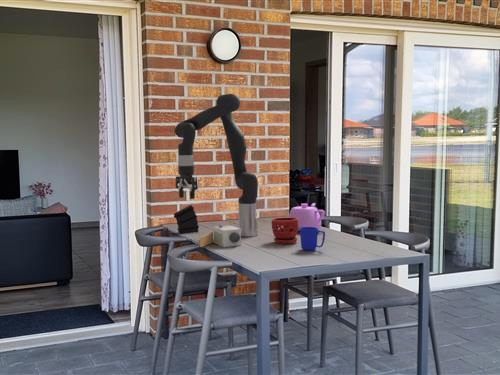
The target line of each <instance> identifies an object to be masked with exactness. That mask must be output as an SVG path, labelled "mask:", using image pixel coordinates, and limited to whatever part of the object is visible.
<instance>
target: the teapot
mask: <svg viewBox="0 0 500 375" xmlns="http://www.w3.org/2000/svg"><path fill="white" fill-rule="evenodd" d="M315 206H316V202H313V203H312V204H311V205H310V206H309V205H308V203H301V204H300V206H294V207H292V208H291V210H290V211H289V214H288V218H297V219H298V232H300V228H302V227H315V228H318V230H319V229H320V228H321V226H322V220H323V219H324V217H325V215H326V211H325V210H323V209H318V208H317V207H315Z"/></svg>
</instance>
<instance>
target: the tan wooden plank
mask: <svg viewBox="0 0 500 375" xmlns="http://www.w3.org/2000/svg"><path fill="white" fill-rule="evenodd" d="M213 243H214V231H211V232H209V233H207V234H204V235H202V236H199V239H198V244H199V248H203V247H205V246H207V245H210V244H213Z"/></svg>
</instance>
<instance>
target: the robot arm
mask: <svg viewBox="0 0 500 375" xmlns="http://www.w3.org/2000/svg"><path fill="white" fill-rule="evenodd" d="M240 106H241V100H240V97H239V96H238V95H237V94H235V93H227V94H226V93H225V94H221V95H219V96H217V99H216V105H214V106H212V107H210V108H207V109H204V110H202V111H200V112H198V113H197V114H196V115H194V116H192V117H190V118H188V119H185V120H183V121H180V122H178V124H177V125H175V128H174V134H175V136H177V137H178V138H181V139H182V142H180V143H179V144H178V146H177V148H178V149H177V150H178V151H177V153H178V156H177V158H178V159H177V167H178V168H177V169H178V170H177V171H178V172H177V174H178V175H177V176H175V189H177V190H178V197H179V198H180V199H181V198H184V197H185V196H184V193H185V192H184V188H185V187H186V188H188V189H189V199H191V200H194V199H195V198H196V196H195V195H196V194H195V193H196V190H199V188H198V177H197V176H193V175H194V174H195V165H194V164H195V163H194V161H195V160H194V147H193V146H194V143H195V138H196V134H197V133H196V132H197V131H200V130H202V129H203V128H205V127H206V126H208V125H210V124H211V123H213V122H214V121H216V120H218V119H219V118H220V119H221V122H222V126H223V130H224V133H225V137H226V143H227V146H228V150H229V154H230V158H231V163H232V168H233V176H234V182H235V185H236V187H237V188H238V189H239V190H241V191H242V194H241V195H240V196H239V198H238V228H240V229H241V237H255V236H258V229H259V228H258V217H257V198H258V187H259V186H258V185H259V182H258V177H257V175H256V174H255V173H252V172H248V171H247V166H246V157H247V156H246V154H247V142H246V139H245V138H246V137H245V135H244V134H243V132H242V130H241V129H240V127H239V126H238V125H237V123H236V122H235V119H234V117H233V112H236V111H237V110H238V109H240Z"/></svg>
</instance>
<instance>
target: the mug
mask: <svg viewBox="0 0 500 375" xmlns="http://www.w3.org/2000/svg"><path fill="white" fill-rule="evenodd" d="M319 233H321V234H322V241H321V244H320V245H318V236H319V235H318V234H319ZM299 236H300V246H301V247H300V248H301V250H302V251H306V252H307V251H308V252H309V251H315V250H316V249H317V248H322V247H323V246H324V244H325V238H326V231H323V230H319V229H318V228H315V227H302V228H300V231H299Z"/></svg>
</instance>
